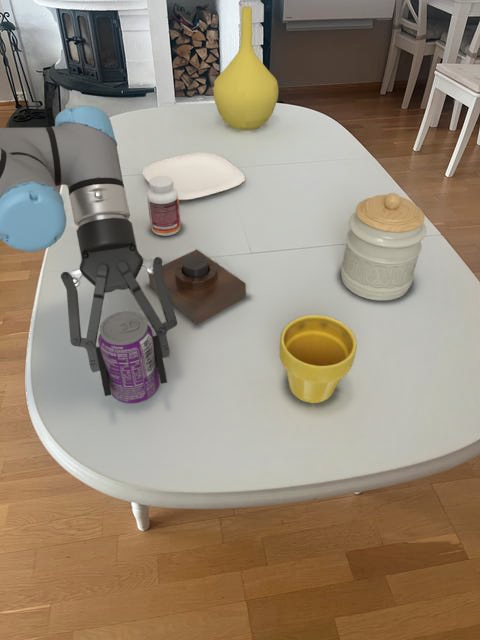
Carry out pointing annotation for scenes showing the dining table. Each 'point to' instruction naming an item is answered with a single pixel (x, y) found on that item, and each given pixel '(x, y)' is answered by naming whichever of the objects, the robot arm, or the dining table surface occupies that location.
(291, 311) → the dining table surface
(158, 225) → the pill bottle
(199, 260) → the button
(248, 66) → the vase
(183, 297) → the button box
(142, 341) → the beverage can
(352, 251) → the jar
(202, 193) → the plate
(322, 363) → the flower pot
